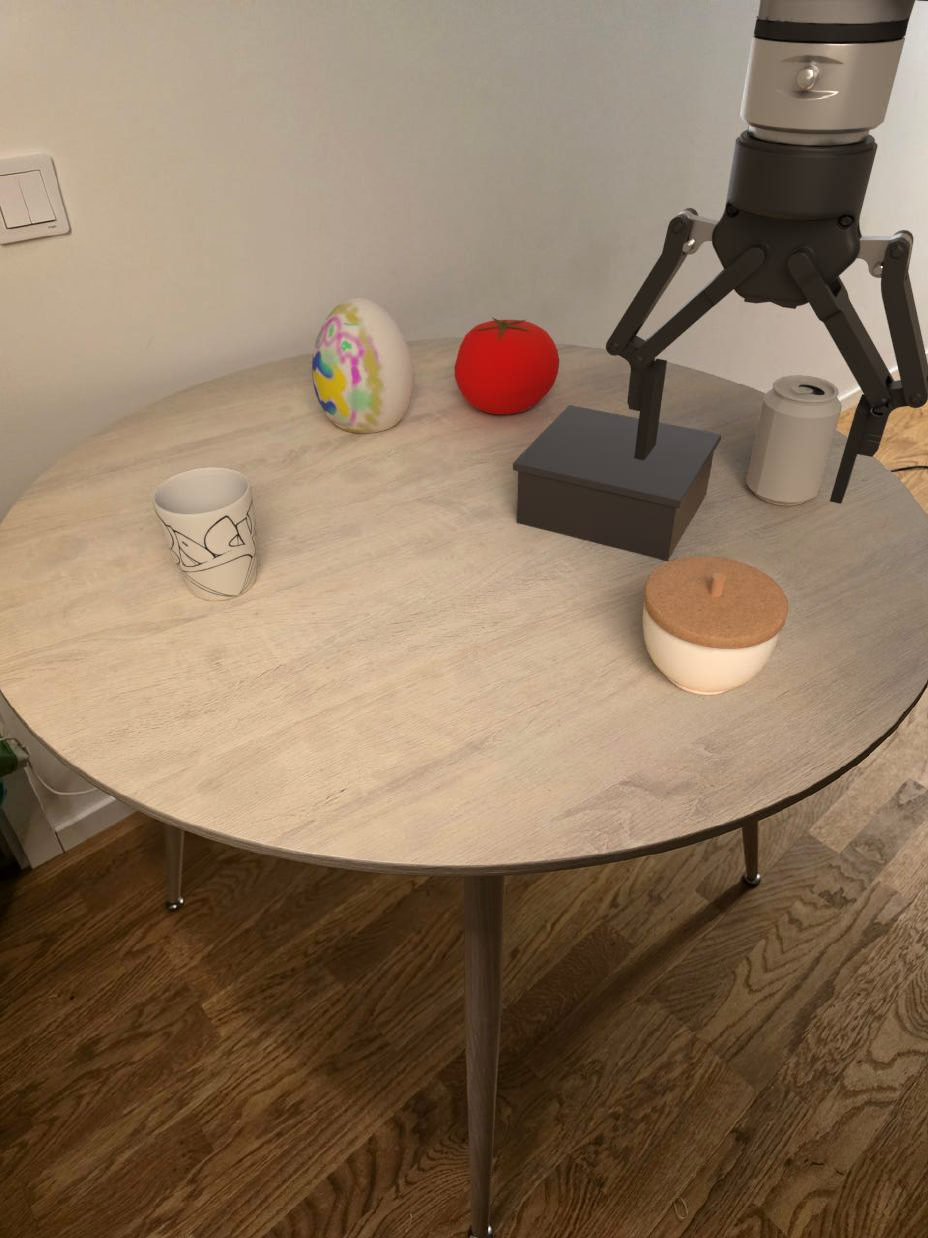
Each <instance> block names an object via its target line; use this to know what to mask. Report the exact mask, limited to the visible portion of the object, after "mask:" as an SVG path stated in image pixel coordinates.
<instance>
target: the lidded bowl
mask: <svg viewBox="0 0 928 1238" xmlns="http://www.w3.org/2000/svg"><path fill="white" fill-rule="evenodd" d="M642 608H643V609H642V633H643V640H644V644H645V647H646V650H647V652H648V655H649V657H650V659H651V661H652V662H653V663H654V665H655V666H656V667H657V668H658V670H659V671H660V672H661V673H662V674H663V675H664V676H665V678H667V680H668V681H670V683H672V684H673V685H674V686H675V687H677V688H679V689H680V690H682V691H685V692H687V693H690V694H694V695H699V696H715V695H720V694H724V693H726V692H729V691H731V690H733V689H736V688H739V687H741V686H743V685H745V684H746V683H748V682H749V681H751V680H752V679H754V678H755V677H756V676H757V675H758V674H759V673H760V672H761V671H763V669H764V668H765V666H766V665H767V663H768V662H769V660H770V659H771V657H772V655H773V654H774V651H775V649H776V647H777V646H778V642H779V639H780V637H781V633H782V630H783V628H784V627H785V624H786V620H787V617H788V613H789V601H788V598H787V595H786V593H785V591H784V590H783V588H782V587H781V586H780V585H779V583H778V582H776V580H774V579H773V578H772V577H771V576H769V575H768V574H766V572H764V571H762V570H761V569H759V568H757V567H755V566H752V565H750V564H747V563H745V562H741V561H740V560H736V559H731V558H727V557H721V556H711V555H693V556H687V557H680V558H676V559H672V560H670V561H667V562H666V563H664V564H662V565H660V566H659V567H658V568H656V569H655V570H654V571H652V573H651V574H649V576H648V577H647V580H646V582H645V586H644V591H643V607H642Z"/></svg>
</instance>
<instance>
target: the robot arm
mask: <svg viewBox="0 0 928 1238" xmlns="http://www.w3.org/2000/svg"><path fill="white" fill-rule="evenodd" d="M916 1H918V2H928V0H760V1H759V9H758V14H757V16H755V18H756V20H755V26H754V30H753V35H752V37H751V42H750V49H749V56H748V62H747V68H746V73H745V74H746V75H745V82H744V87H743V92H742V98H741V99H742V100H741V106H740V112H739V116H740V118H741V120H742V121H743V123H744V124H746V125H748V126H747V129H746V130H744V131H742V132H741V133H740V135H739V136H737V138H736V139H735V143H734V149H733V154H732V155H733V156H732V162H731V169H730V174H729V180H728V188H727V193H726V199H725V205H724V210H723V213H722V215H721V217H720V219H719V220H718V219H713V218H708V217H705V216H700V215H699V213H698V211H697V210H696V209H695V208H693V207H687V208H684V209H683V210H682V211H680V212H679V213H677V214H676V215H675V216H674V217H673V218H671V220H670V221H669V223H668V225H667V230H666V233H665V239H664V243H663V245H662V251H661V254H660V255H659V257H658V259H657V261H656V262H655V264H654V265H653V267H652V268H651V270H650V272H649V273H648V275H647V277H646V278H645V280H644V281H643V283H642V284H641V286H640V288H639V289H638V291H637V292H636V294H635V296H634V298H633V299H632V301H631V302H630V304H629V305H628V307H627V309H626V310H625V312H624V314H623V315H622V317H621V318H620V320H619V321H618V323H617V324H616V327H615V328H614V329H613V331H612V333H611V335H610V337H609V338H608V339H607V340H606V343H605V351H606V352H607V354H608V355H610V356H611V357H612V356H613V357H617V356H619V357H621V358H622V359H623V360H625V361H626V362H627V363H628V365H629V368H630V373H629V381H628V391H627V401H626V403H627V407H628V409H629V410H631V411H636V412H639V414H638V418H639V422H638V430H637V438H636V447H635V455H634V459H639V460H643V461H644V460H645V459H646V457H647V456H648V455H649V453H650V452H651V451H652V449H653V448H654V447H655V445H656V440H657V432H658V425H659V422H660V417H661V410H662V401H663V394H664V387H665V380H666V372H667V365H668V360H667V359H661V358H657V357H658V356H659V355H660V354H661V353H662V352H664V351H665V350H666V349H667V348H668V347H669V346H670V345H671V344H673V343H674V342H675V341H676V340H677V339H678V338H680V336H682V335H683V334H684V333H685V332H686V331H688V330H689V329H690V328H691V327H692V326H693V325H694V324H695V323H696V322H698V321H700V319H701V318H702V317H703V316H705V315H706V314H707V313H708V312H709V311H710V310H712V309H713V308H714V307H715V306H716V305H718V304H719V303H720V302H721V301H722V300H724V299H725V298H726V297H727V296H728V295H729V294H730V293H731V292H733V291H734V292H735V293H736V294H737V295H738V296H739V297H740V298H742V299H743V302H744V303H751V304H764V303H772V304H774V305H777V306H779V307H781V308H786V309H793V310H796V309H797V307H801V306H804V305H807V304H809V305H810V307H811V309H812V311H813V313H814V314H815V316H816V317H817V319H818V320H819V321H820V322H822V323H823V325H824V326H825V328H826V330H827V332H828V333H829V335H830V338H832V341H833V342H834V344H835V346H836V348H837V350H838V351H839V353H840V355H841V357H842V358H843V360H844V362H845V363H846V365H847V367H848V368H849V369H848V370H850V372H851V374H852V376H853V378H854V379H855V381H856V383H857V385H858V386H859V388H860V391H861V392H862V394H861V396H860V399H859V401H858V403H857V405H856V409H855V411H854V414H853V417H852V421H851V425H850V428H849V429H850V430H849V432H848V436H847V439H846V443H845V445H844V450H843V453H842V456H841V461H840V463H839V467H838V471H837V473H836V477H835V481H834V484H833V488H832V491H831V495H830V498H829V502H830V503H834V504H839V505H842V504H843V500H844V498H845V494H846V492H847V488H848V487H849V483H850V480H851V476H852V473H853V470H854V466H855V463H856V460H857V457H858V455H860V456H865V457H869V458H873V457H874V455H876V453H877V452H878V451H879V448H880V445H881V442H882V440H883V439H882V438H883V435H884V432H885V429H886V426H887V422H888V420H889V416H890V414H891V413H892V412H893V411H894V410H896V409H898V408H899V409H900V408H905V407H910V408H912V409H920V408H922V407H924V406H925V405H926V404H927V402H928V359H927V353H926V349H925V344H924V340H923V335H922V330H921V325H920V321H919V320H920V319H919V316H918V311H917V307H916V302H915V301H916V300H915V297H914V293H913V287H912V282H911V278H910V274H909V269H910V263H911V259H912V252H913V246H914V236H913V233H912V232H911V231H910V230H907V229H901V230H898V231H896V232H894V234H893V235H862V232H861V226H860V220H861V214H862V210H863V206H864V202H865V198H866V194H867V191H868V187H869V182H870V179H871V174H872V170H873V166H874V163H875V158H876V154H877V151H878V143H877V142H876V139H875V137H874V136H873V135H872V134H870V131H871V130H872V131H873V130H874V129H876V128H878V127H879V126H880V125H882V124H883V123H884V122H885V118H886V115H887V110H888V107H889V104H890V100H891V96H892V92H893V91H892V90H893V87H894V84H895V80H896V76H897V72H898V69H899V64H900V60H901V58H902V57H901V56H902V53H903V49H904V46H905V41H906V34H907V31H908V27H909V22H910V18H911V17H912V16H911V15H912V13H913V10H914V6H915V2H916ZM705 242H711V245H712V248H713V251H714V252H715V254H716V256H717V258H718V261H719V262H720V265H721V266H722V268H723V269H722V270H721V271H720V272H718V274H717V275H715V276H714V277H713V278H712V279H711V281H709V282H708V283H707V284H706V285H705V286H704V287H703V288H701V289H700V290H699V291H698V292H697V293H696V294H695V295H694V296H692V297H691V299H690V300H688V301H687V302H686V303H685V304H684V305H682V307H681V308H680V309H678V311H676V312H675V313H674V314H673V315H672V316H671V317H669V319H667V320H666V321H665V322H664V323H663V324H662V325H661V326H660V327H659V328H658V329H657V330H655V331H654V332H653V333H652V334H651V335H650V336H649V337H648V338H646V339H644V338H642V337H640V336H639V335H638V334H639V331H640V330H641V329H642V327H643V326H644V324H645V323H646V321H647V320H648V318H649V316H650V315H651V313H652V312H653V310H654V309H655V307H656V305H657V304H658V302H659V301H660V299H661V298H662V296H663V294H664V293H665V292H666V290H667V288H669V285H670V284H671V282H672V281H673V280H674V277H675V276H676V274H677V273H678V271H679V270H680V268H681V267H682V265H683V264H684V263H685V260H686V259H687V257H688V256H689V255H693V254H694V255H695V253H697V252H698V251H699V250H700V249H701V248H702V246H703V244H704V243H705ZM857 259H861V260H863V261H864V262H866V264H867V267H868V273H869V274H870V275H871V277H873V278H876V279H880V293H881V299H882V304H883V308H884V312H885V313H884V314H885V317H886V322H887V326H888V330H889V335H890V339H891V343H892V348H893V352H894V358H895V362H896V366H897V370H898V375H899V380H898V379H897V380H895V379H894V377H893V375H892V374H891V372H890V371H889V368H888V367H887V364H886V363H885V361H884V360H883V357H882V356H881V353H880V352H879V351H878V349H877V347H876V344H875V343H874V341H873V339H872V338H871V336H870V333H869V332H868V331H867V328H866V327H865V325H864V324H863V322H862V319H861V318H860V316H859V314H858V312H857V311H856V309H855V306H853V304H852V301H851V300H850V297H849V292H848V290H847V288H846V286H845V285H844V283H843V280H842V279H841V277H840V276H841V275H842V274H843V273H844V272H845V271H846V270H847V269H849V268H850V267H851V266H852V265H853V264H854V262H855V261H856V260H857Z"/></svg>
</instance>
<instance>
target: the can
mask: <svg viewBox="0 0 928 1238" xmlns="http://www.w3.org/2000/svg"><path fill="white" fill-rule="evenodd" d="M839 392H840V391H839V388H838V387H837V386H836V385H835V383H832V382H831V381H828V380H826V379H823V378H820V377H816V376H811V375H802V374H799V375H796V374H795V375H787V376H786V375H785V376H782V377H780V378H778V379H776V380H774V382H773V383H772V388H771V389H770V390H768V391H767V392H766V393H765V394H764V395H763V397H762V403H761V408H760V412H759V417H758V421H757V426H756V432H755V437H754V442H753V446H752V451H751V456H750V460H749V465H748V469H747V476H746V484H747V486H748V488H749V490H751V491H752V492H753V494H754V495H755V496H756V497H757V498H759V499H760V500H762V501H764V502H766V503H769V504H773V505H776V506H784V507H785V506H798V505H802V504H804V503H805V502H808V501H810V500H811V499H814V498H816V497H817V495H818V494H819V492H820V490H821V486H822V483H823V479H824V475H825V471H826V468H827V464H828V460H829V456H830V453H831V450H832V446H833V442H834V438H835V434H836V431H837V428H838V424H839V420H840V416H841V412H842V408H843V406H842V402H841V401H840V399H839V398H838V396H839V395H840V393H839Z"/></svg>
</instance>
